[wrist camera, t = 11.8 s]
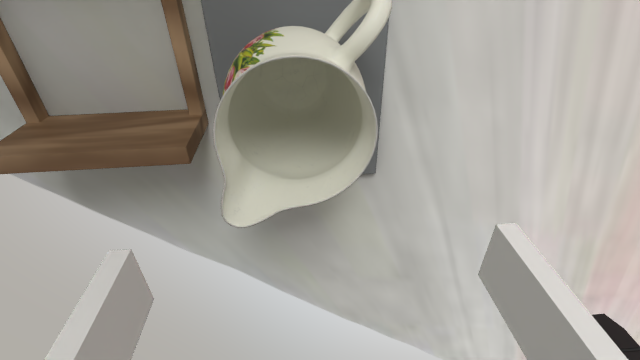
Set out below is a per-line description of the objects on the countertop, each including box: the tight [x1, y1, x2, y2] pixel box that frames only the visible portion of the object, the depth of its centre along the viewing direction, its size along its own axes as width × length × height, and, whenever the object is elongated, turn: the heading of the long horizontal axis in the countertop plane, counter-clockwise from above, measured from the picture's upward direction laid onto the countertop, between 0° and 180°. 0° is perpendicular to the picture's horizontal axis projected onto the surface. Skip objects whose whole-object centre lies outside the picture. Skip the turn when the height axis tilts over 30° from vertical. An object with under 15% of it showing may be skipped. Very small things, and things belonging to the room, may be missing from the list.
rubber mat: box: [201, 0, 389, 174], centre depth 33 cm, size 24×16×1 cm, turn 1°
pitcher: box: [213, 0, 392, 228], centre depth 27 cm, size 11×18×14 cm, turn 142°
